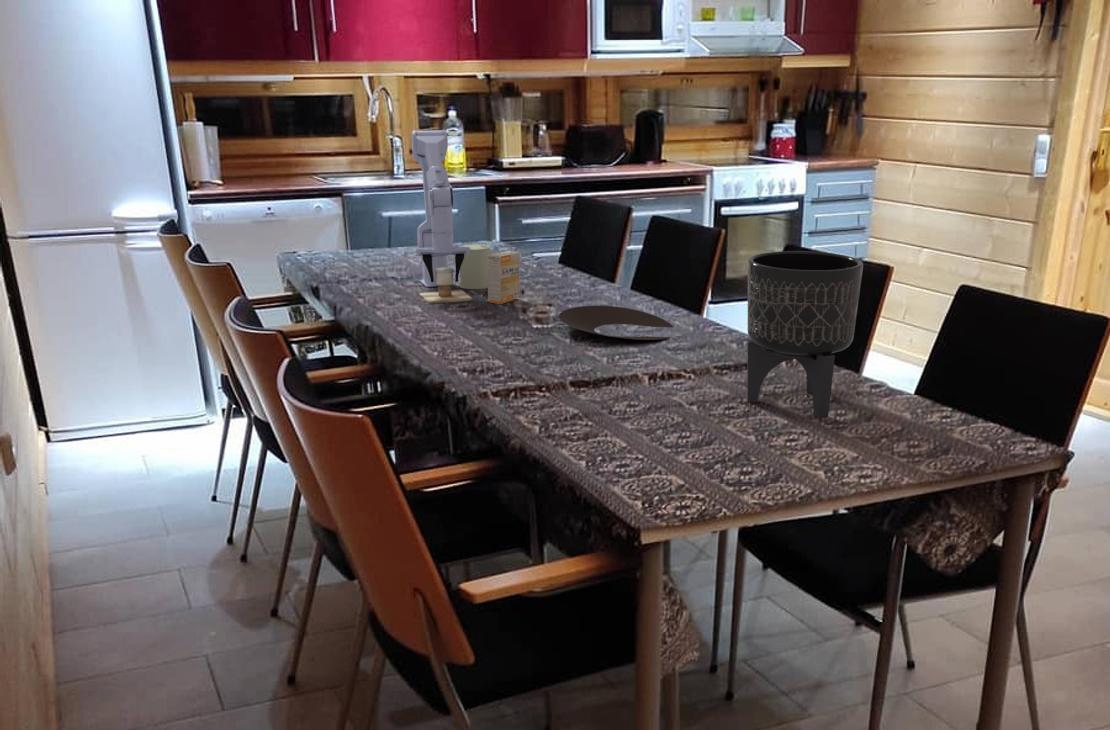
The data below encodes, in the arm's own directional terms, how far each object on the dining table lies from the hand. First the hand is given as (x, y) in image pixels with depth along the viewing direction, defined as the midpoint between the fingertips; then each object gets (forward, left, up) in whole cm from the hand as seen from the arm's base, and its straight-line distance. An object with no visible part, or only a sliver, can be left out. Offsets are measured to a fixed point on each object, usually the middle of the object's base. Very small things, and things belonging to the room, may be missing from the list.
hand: (444, 281), depth 259 cm
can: (-12, +12, -5) cm, 18 cm away
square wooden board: (0, 0, -5) cm, 5 cm away
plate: (+50, +30, -5) cm, 58 cm away
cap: (0, 0, -1) cm, 1 cm away
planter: (+111, +39, -5) cm, 118 cm away
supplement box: (+10, +14, -5) cm, 18 cm away
